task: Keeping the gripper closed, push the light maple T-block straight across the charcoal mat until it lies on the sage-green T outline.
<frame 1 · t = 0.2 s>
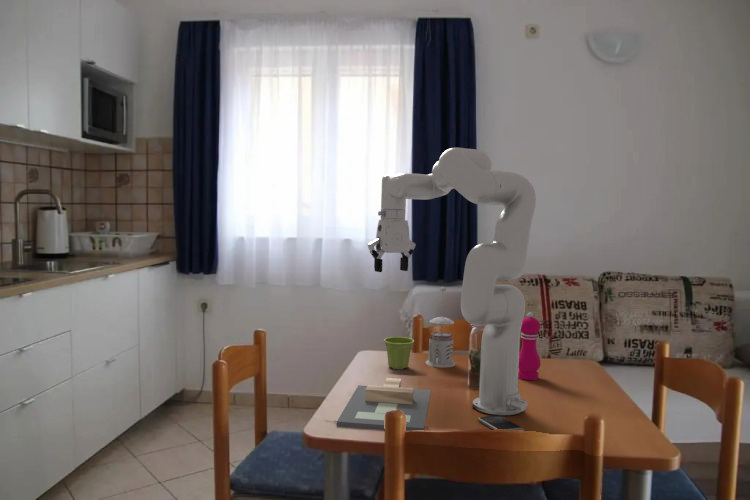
hand: (391, 271, 195), 31 cm above the table, tool pointing down, fingers open, 9 cm apart
plant pot: (398, 367, 200), on the table
pepper mill: (527, 378, 192), on the table
cell phone: (500, 429, 148), on the table
french press: (439, 364, 206), on the table
t block: (391, 395, 167), point 1 cm above the table, touching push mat
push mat: (387, 408, 159), on the table
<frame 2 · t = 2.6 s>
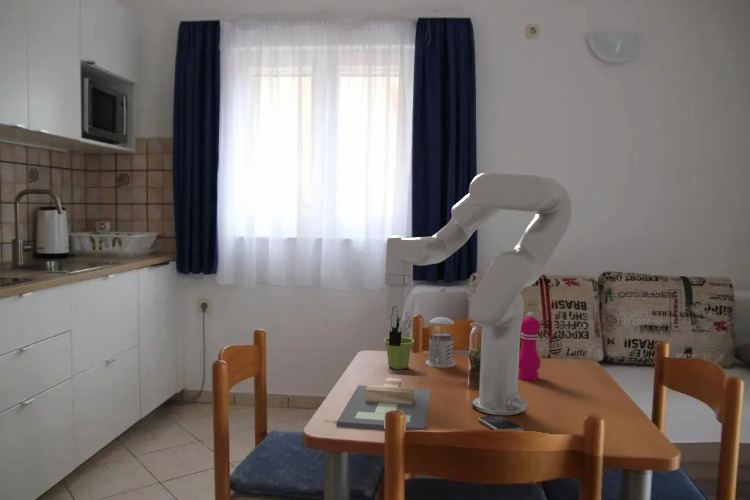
hand: (394, 345, 178), 12 cm above the table, tool pointing down, fingers closed
nothing on the table moved.
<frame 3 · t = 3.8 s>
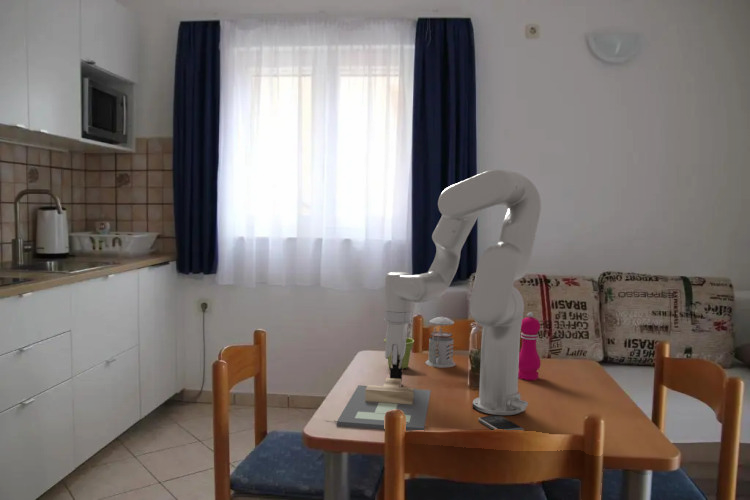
hand: (395, 381, 178), 2 cm above the table, tool pointing down, fingers closed
nothing on the table moved.
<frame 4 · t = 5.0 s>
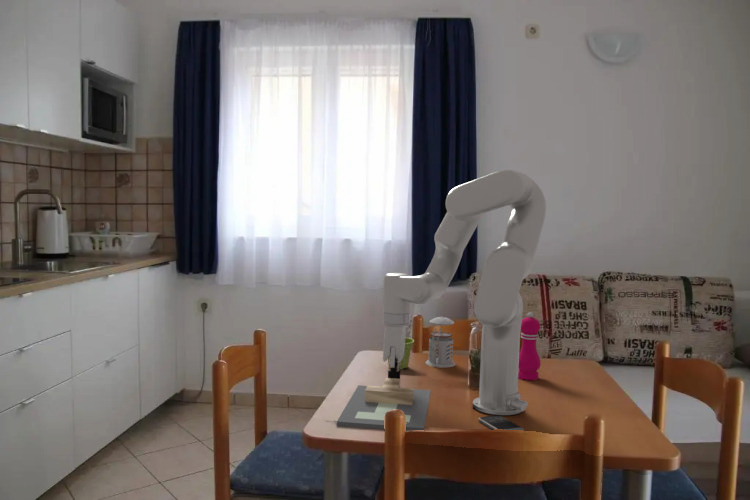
hand: (393, 384, 174), 2 cm above the table, tool pointing down, fingers closed
t block: (390, 396, 166), point 1 cm above the table, touching gripper, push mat
everything else where it was.
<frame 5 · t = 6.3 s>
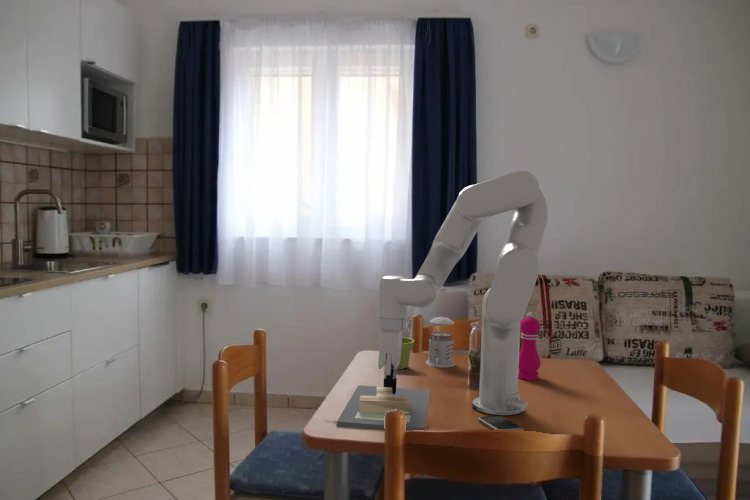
hand: (389, 393, 166), 2 cm above the table, tool pointing down, fingers closed
t block: (384, 405, 158), point 1 cm above the table, touching gripper, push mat
everything else where it was.
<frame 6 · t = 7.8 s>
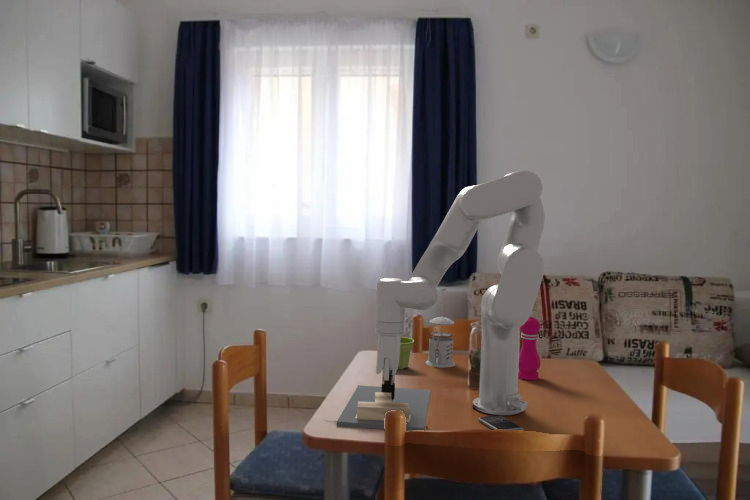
hand: (387, 398, 161), 2 cm above the table, tool pointing down, fingers closed
t block: (382, 411, 153), point 1 cm above the table, touching gripper, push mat
everything else where it was.
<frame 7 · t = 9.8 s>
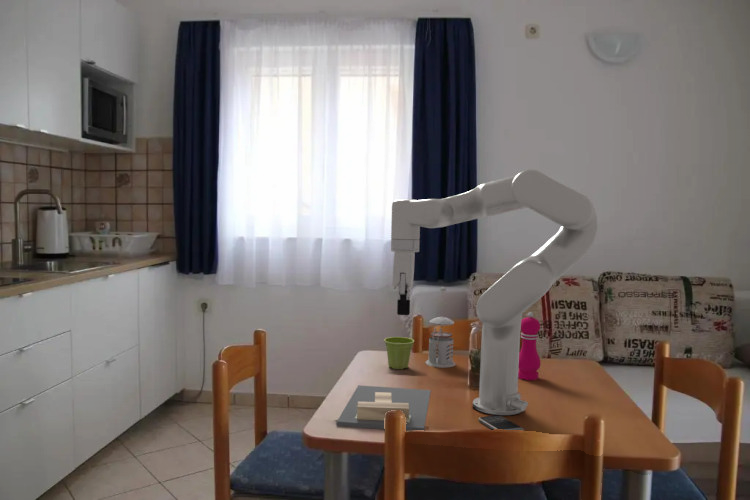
hand: (403, 314, 170), 22 cm above the table, tool pointing down, fingers closed
t block: (382, 411, 153), point 1 cm above the table, touching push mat
everything else where it was.
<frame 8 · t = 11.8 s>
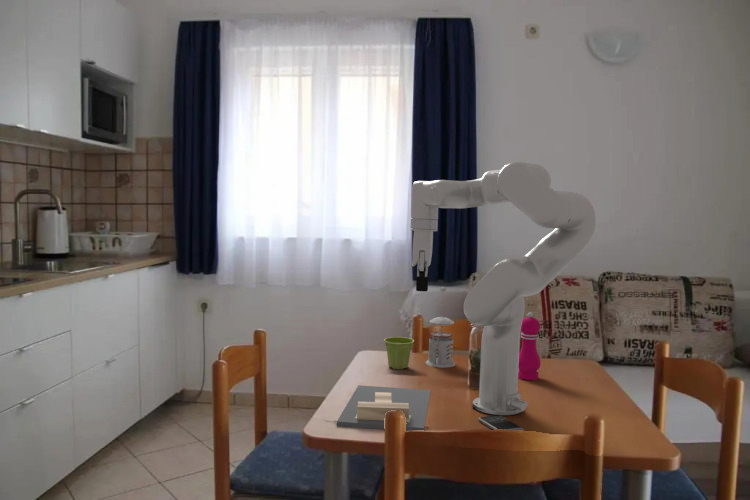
hand: (421, 290, 178), 27 cm above the table, tool pointing down, fingers closed
nothing on the table moved.
at the end: t block 0.7 cm from the target spot on the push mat, point 1.0 cm above the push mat's base; t block tilted 0°; the gripper is holding nothing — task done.
